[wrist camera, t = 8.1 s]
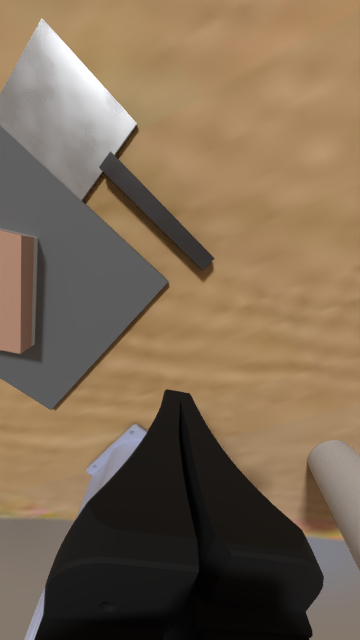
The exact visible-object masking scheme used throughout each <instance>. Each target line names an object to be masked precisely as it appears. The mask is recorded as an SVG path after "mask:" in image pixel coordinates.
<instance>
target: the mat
mask: <svg viewBox="0 0 360 640" xmlns="http://www.w3.org/2000/svg"><path fill="white" fill-rule="evenodd" d="M0 229H5V230H9V231H13V232H17V233H21V234H26V235H30V236H34V237H38V252H37V286H36V321H35V345H33V346H32V347H30V348H29V349H27V350H26V351H24V352H22V353H21V354H19V353H13V352H8V351H3V350H0V378H1V379H2V380H4V381H6V382H7V383H9V384H10V385H12V386H14V387H15V388H17V389H18V390H20V391H21V392H23V393H25V394H26V395H28V396H29V397H31V398H33V399H34V400H36V401H37V402H39V403H40V404H42V405H44V406H45V407H47V408H48V409H50V410H52V409H53V407H54V406H55V405H56V404H57V403H58V402H59V401H60V400H61V399H62V398H63V396H64V395H65V394H66V393H67V392H68V391H69V390H70V389H71V388H72V387H73V386H74V384H75V383H76V382H77V381H78V380H79V379H80V378H81V377H82V376H83V375H84V374H85V372H86V371H87V370H88V369H89V368H90V367H91V366H92V365H93V364H94V363H95V361H96V360H97V359H98V358H99V357H100V356H101V355H102V354H103V353H104V352H105V351H106V349H107V348H108V347H109V346H110V345H111V344H112V343H113V342H114V341H115V340H116V338H117V337H118V336H119V335H120V334H121V333H122V332H123V331H124V330H125V329H126V328H127V326H128V325H129V324H130V323H131V322H132V321H133V320H134V319H135V318H136V317H137V315H138V314H139V313H140V312H141V311H142V310H143V309H144V308H145V307H146V306H147V305H148V303H149V302H150V301H151V300H152V299H153V298H154V297H155V296H156V295H157V294H158V292H159V291H160V290H161V289H162V288H163V287H164V286H165V285H166V284H167V283H168V280H167V279H166V278H165V277H163V276H162V275H161V274H160V273H159V272H158V271H157V270H156V269H155V268H154V267H153V266H152V265H151V264H149V263H148V262H147V261H146V260H145V259H144V258H143V257H142V256H141V255H140V254H139V253H138V252H137V251H136V250H134V249H133V248H132V247H131V246H130V245H129V244H128V243H127V242H126V241H125V240H124V239H123V238H122V237H120V236H119V235H118V234H117V233H116V232H115V231H114V230H113V229H112V228H111V227H110V226H109V225H108V224H106V223H105V222H104V221H103V220H102V219H101V218H100V217H99V216H98V215H97V214H96V213H95V212H94V211H92V210H91V209H90V208H89V207H88V206H87V205H86V204H85V203H84V202H83V201H81V200H80V199H79V198H78V197H77V196H76V195H75V194H74V193H72V192H71V191H70V190H69V189H68V188H67V187H66V186H65V185H64V184H63V183H62V182H61V181H60V180H58V179H57V178H56V177H55V176H54V175H53V174H52V173H51V172H50V171H49V170H48V169H47V168H46V167H44V166H43V165H42V164H41V163H40V162H39V161H38V160H37V159H36V158H35V157H34V156H33V155H32V154H30V153H29V152H28V151H27V150H26V149H25V148H24V147H23V146H22V145H21V144H20V143H19V142H18V141H16V140H15V139H14V138H13V137H12V136H11V135H10V134H9V133H8V132H7V131H6V130H5V129H4V128H2V127H1V126H0Z"/></svg>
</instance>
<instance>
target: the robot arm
mask: <svg viewBox="0 0 360 640" xmlns="http://www.w3.org/2000/svg"><path fill="white" fill-rule="evenodd" d="M131 431H134V432H131ZM86 471H87V473H88V474H90V475H92V477H91V480H90V483H89V486H88V488H87V491H86V494H85V496H84V499H83V502H82V504H81V507H80V510H79V513H78V515H77V518H76V520H75V522H74V523H73V525H72V527H71V528H70V530H69V532H68V534H67V535H66V537H65V539H64V541H63V543H62V544H61V547H60V549H59V551H58V553H57V555H56V558H55V560H54V563H53V566H52V568H51V571H50V574H49V576H48V579H47V582H46V586H45V588H44V590H43V592H42V595H41V598H40V600H39V602H38V605H37V608H36V610H35V613H34V615H33V618H32V621H31V623H30V626H29V629H28V632H27V634H26V637H25V640H309V638H311V636H312V629H311V626H310V624H309V621H308V618H307V615H306V610H307V609H308V608H309V607H310V605H311V604H312V603H313V601H314V600H315V599H316V597H317V596H318V595H319V593H320V591H321V589H322V587H323V579H324V576H323V574H322V572H321V569H320V567H319V565H318V563H317V560H316V558H315V556H314V554H313V551H312V549H311V547H310V545H309V543H308V541H307V539H306V537H305V535H304V533H303V531H302V530H301V529H300V528H299V527H298V526H297V525H296V524H294V523H293V522H292V521H291V520H290V519H289V518H288V517H286V516H285V515H284V514H283V513H282V512H281V511H280V510H278V509H277V508H276V507H275V506H274V505H273V504H272V503H271V502H270V501H269V500H268V499H267V498H266V497H265V496H264V495H263V494H262V493H261V492H260V491H258V490H257V488H256V487H255V486H254V485H253V484H252V483H251V482H250V481H249V480H248V479H247V478H246V477H245V476H244V475H243V473H242V472H241V471H240V470H239V469H238V468H237V467H236V465H235V464H234V463H233V462H232V461H231V459H230V458H229V457H228V456H227V454H226V453H225V452H224V450H223V449H222V448H221V446H220V445H219V443H218V442H217V441H216V439H215V437H214V436H213V434H212V433H211V431H210V430H209V428H208V426H207V425H206V423H205V421H204V419H203V418H202V416H201V414H200V412H199V410H198V408H197V407H196V405H195V403H194V401H193V399H192V396H191V395H190V394H189V393H184V392H179V391H173V390H168V389H167V390H165V392H164V396H163V400H162V404H161V407H160V409H159V412H158V414H157V416H156V418H155V420H154V421H153V423H152V425H151V427H150V428H149V430H148V432H147V431H146V430H144V429H143V428H141V427H140V426H139V425H136V424H135V425H132V426H131V427H130V428H129V429H128V430H127V431H126V432H125V433H124V434H123V435H121V436H120V437H119V438H118V439H117V440H116V441H115V442H114V443H113V444H112V445H111V446H110V447H109V448H108V449H106V450H105V451H104V452H103V453H102V454H101V455H100V456H99V457H98V458H97V459H96V460H95V461H94V462H93V463H91V464H90V465H89V466H88V468H87V470H86Z"/></svg>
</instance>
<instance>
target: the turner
mask: <svg viewBox="0 0 360 640" xmlns="http://www.w3.org/2000/svg"><path fill="white" fill-rule="evenodd" d="M0 126H1V127H2V128H4V129H5V130H6V131H7V132H8V133H9V134H10V135H11V136H12V137H13V138H14V139H15V140H16V141H18V142H19V143H20V144H21V145H22V146H23V147H24V148H25V149H26V150H27V151H28V152H29V153H30V154H32V155H33V156H34V157H35V158H36V159H37V160H38V161H39V162H40V163H41V164H42V165H43V166H44V167H46V168H47V169H48V170H49V171H50V172H51V173H52V174H53V175H54V176H55V177H56V178H57V179H58V180H60V181H61V182H62V183H63V184H64V185H65V186H66V187H67V188H68V189H69V190H70V191H71V192H72V193H74V194H75V195H76V196H77V197H78V198H79V199H80V200H81V201H84V199H85V198H86V196H87V195H88V194H89V192H90V191H91V190H92V188H93V187H94V185H95V184H96V183H97V181H98V180H99V178H100V177H101V176H102V174H103V173H104V174H105V175H106V176H107V177H108V178H109V179H110V180H111V181H112V182H113V183H114V184H115V185H117V186H118V187H119V188H120V189H121V190H122V191H123V192H124V193H125V194H126V195H127V196H128V197H129V198H130V199H131V200H132V201H133V202H134V203H135V204H136V205H137V206H138V207H139V208H140V209H141V210H142V211H143V212H144V213H145V214H146V215H147V216H148V217H149V218H150V219H151V220H152V221H153V222H154V223H155V224H156V225H157V226H158V227H159V228H160V229H161V230H162V231H163V232H164V233H165V234H166V235H167V236H168V237H169V238H170V239H171V240H172V241H173V242H174V243H175V244H176V245H177V246H178V247H179V248H180V249H181V250H182V251H183V252H184V253H185V254H186V255H187V256H188V257H189V258H190V259H191V260H192V261H193V262H194V263H195V264H196V265H197V266H198V267H199V268H200V269H201V270H202V271H203V270H204V269H205V268H206V267H207V266H208V265H209V264H210V263H211V261H212V260H213V259H214V258H213V257H212V255H211V254H210V253H209V252H208V251H207V250H206V249H205V248H204V247H203V246H202V245H201V244H200V243H199V242H198V241H197V240H196V239H195V238H194V237H193V236H192V235H191V234H190V233H189V232H188V231H187V230H186V229H185V228H184V227H183V226H182V225H181V224H180V222H179V221H178V220H177V219H176V218H175V217H174V216H173V215H172V214H171V213H170V212H169V211H168V210H167V209H166V208H165V207H164V206H163V205H162V204H161V203H160V202H159V201H158V200H157V199H156V198H155V197H154V196H153V195H152V194H151V193H150V192H149V190H148V189H147V188H146V187H145V186H144V185H143V184H142V183H141V182H140V181H139V180H138V179H137V178H136V177H135V176H134V175H133V174H132V173H131V172H130V171H129V170H128V169H127V168H126V167H125V166H124V165H123V164H122V163H121V162H120V161H119V160H118V159H117V157H116V155H117V154H118V152H119V151H120V149H121V148H122V147H123V145H124V144H125V142H126V141H127V140H128V138H129V137H130V135H131V134H132V133H133V131H134V130H135V129H136V127H137V123H136V122H135V121H134V120H133V119H132V117H131V116H130V115H129V114H128V113H127V112H126V111H125V110H124V109H123V108H122V106H121V105H120V104H119V103H118V102H117V101H116V100H115V99H114V98H113V96H112V95H111V94H110V93H109V92H108V91H107V90H106V89H105V88H104V86H103V85H102V84H101V83H100V82H99V81H98V80H97V79H96V78H95V76H94V75H93V74H92V73H91V72H90V71H89V70H88V69H87V68H86V66H85V65H84V64H83V63H82V62H81V61H80V60H79V59H78V58H77V57H76V55H75V54H74V53H73V52H72V51H71V50H70V49H69V48H68V47H67V45H66V44H65V43H64V42H63V41H62V40H61V39H60V38H59V37H58V35H57V34H56V33H55V32H54V31H53V30H52V29H51V28H50V27H49V25H48V24H47V23H46V22H45V21H44V20H43V19H41V21H40V22H39V24H38V26H37V28H36V30H35V32H34V33H33V35H32V37H31V39H30V41H29V42H28V44H27V46H26V48H25V50H24V52H23V53H22V55H21V57H20V59H19V61H18V62H17V64H16V66H15V68H14V70H13V72H12V73H11V75H10V77H9V79H8V81H7V82H6V84H5V86H4V88H3V90H2V92H1V93H0Z"/></svg>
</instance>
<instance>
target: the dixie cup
mask: <svg viewBox="0 0 360 640" xmlns="http://www.w3.org/2000/svg"><path fill="white" fill-rule="evenodd" d="M307 463H308V466H309V468H310V470H311V472H312V474H313V476H314V478H315V481H316V483H317V485H318V487H319V489H320V491H321V493H322V495H323V497H324V499H325V501H326V503H327V505H328V507H329V509H330V511H331V513H332V515H333V517H334V519H335V521H336V523H337V525H338V528H339V530H340V532H341V534H342V536H343V538H344V540H345V542H346V544H347V546H348V548H349V550H350V552H351V554H352V556H353V558H354V560H355V562H356V564H357V566H358V568H359V570H360V455H359V454H358V453H357V452H356V451H355V450H353V449H352V448H351V447H350V446H349V445H348V444H347V443H345V442H343V441H339V440H331V441H326V442H323V443H321V444H319V445H317V446H316V447H315V448H314V449H313V450H312V451H311V452H310V453H309V455H308V459H307Z"/></svg>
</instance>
